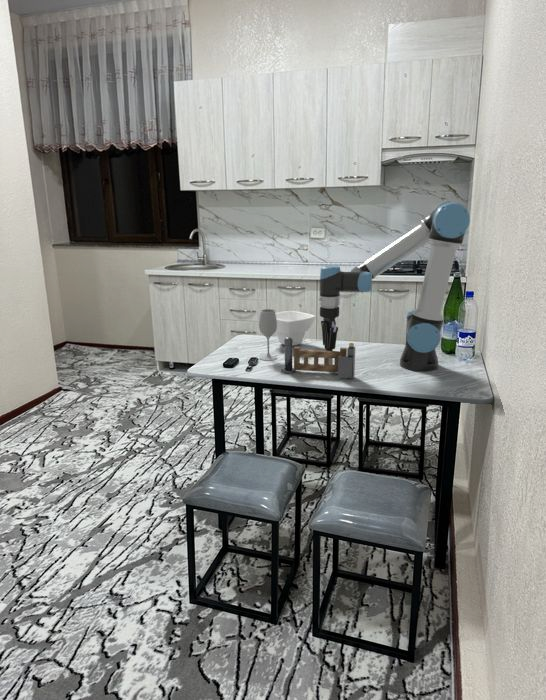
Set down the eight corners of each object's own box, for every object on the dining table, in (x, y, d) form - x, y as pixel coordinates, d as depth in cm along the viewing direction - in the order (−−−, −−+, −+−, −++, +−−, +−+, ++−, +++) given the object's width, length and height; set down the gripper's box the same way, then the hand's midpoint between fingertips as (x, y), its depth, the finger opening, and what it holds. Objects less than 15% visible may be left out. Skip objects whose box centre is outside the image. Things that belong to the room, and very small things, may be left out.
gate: (293, 370, 206) (293, 347, 204) (294, 368, 209) (294, 345, 206) (345, 373, 202) (346, 349, 200) (346, 371, 204) (346, 347, 202)
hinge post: (298, 369, 210) (298, 336, 206) (293, 374, 204) (293, 339, 201) (284, 368, 212) (283, 334, 208) (279, 372, 206) (278, 338, 203)
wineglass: (275, 361, 221) (274, 312, 215) (257, 360, 223) (256, 312, 217) (278, 356, 228) (278, 309, 222) (261, 355, 230) (260, 308, 224)
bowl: (291, 337, 259) (291, 309, 255) (319, 345, 245) (319, 316, 241) (262, 344, 248) (261, 315, 244) (289, 352, 234) (289, 322, 230)
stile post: (354, 376, 201) (355, 342, 197) (351, 380, 196) (352, 345, 193) (340, 375, 202) (341, 341, 199) (337, 379, 198) (338, 344, 195)
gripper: (314, 303, 207) (314, 360, 213) (326, 310, 194) (325, 370, 201) (332, 302, 208) (331, 358, 215) (345, 309, 196) (343, 368, 203)
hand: (328, 364), depth 208 cm, fingers closed
